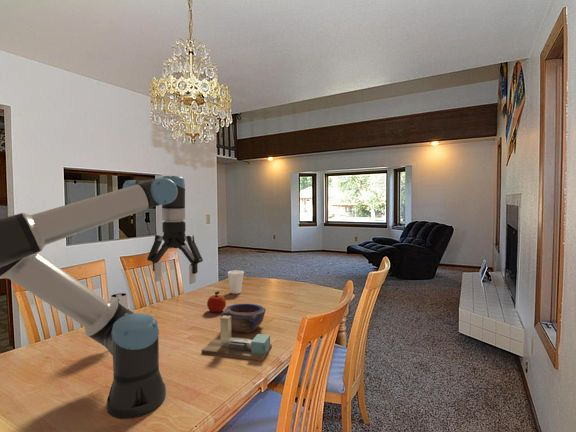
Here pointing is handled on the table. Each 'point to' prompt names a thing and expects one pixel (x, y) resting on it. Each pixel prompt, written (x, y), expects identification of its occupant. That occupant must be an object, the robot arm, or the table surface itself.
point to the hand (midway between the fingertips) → (175, 282)
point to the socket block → (260, 344)
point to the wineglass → (121, 299)
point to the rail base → (232, 350)
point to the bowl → (245, 317)
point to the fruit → (216, 303)
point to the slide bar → (226, 334)
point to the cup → (235, 281)
